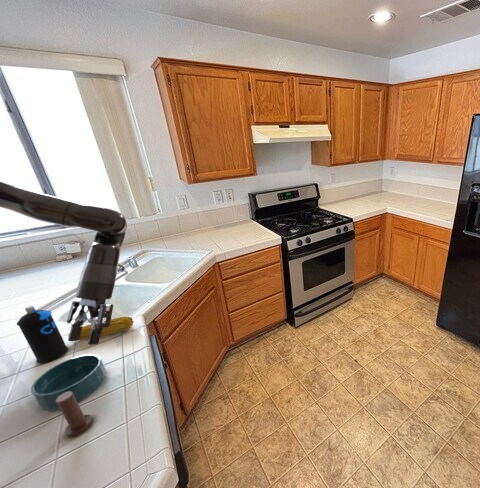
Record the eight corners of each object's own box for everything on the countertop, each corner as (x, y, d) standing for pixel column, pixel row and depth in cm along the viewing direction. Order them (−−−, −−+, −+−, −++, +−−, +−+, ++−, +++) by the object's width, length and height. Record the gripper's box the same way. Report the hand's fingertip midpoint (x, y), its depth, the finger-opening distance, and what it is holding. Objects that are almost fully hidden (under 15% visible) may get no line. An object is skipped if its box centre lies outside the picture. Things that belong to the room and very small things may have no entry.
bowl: (29, 422, 69) (19, 405, 67) (51, 381, 82) (44, 366, 80) (101, 395, 76) (94, 379, 74) (111, 362, 89) (105, 347, 87)
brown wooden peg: (63, 442, 64) (45, 410, 60) (70, 424, 68) (54, 393, 65) (90, 430, 66) (74, 399, 63) (95, 414, 70) (81, 384, 67)
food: (136, 324, 109) (131, 312, 107) (131, 332, 104) (126, 319, 102) (74, 337, 103) (68, 324, 101) (66, 347, 98) (59, 333, 96)
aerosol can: (31, 367, 89) (4, 317, 82) (44, 351, 96) (20, 304, 89) (62, 358, 92) (38, 309, 85) (72, 344, 99) (51, 298, 92)
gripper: (65, 279, 71) (49, 341, 68) (98, 280, 66) (82, 348, 63) (97, 281, 78) (83, 338, 75) (129, 283, 73) (115, 344, 70)
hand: (83, 342), depth 69 cm, fingers open, 8 cm apart
